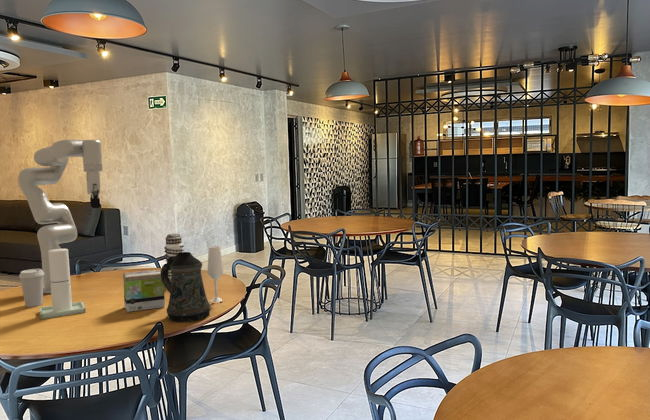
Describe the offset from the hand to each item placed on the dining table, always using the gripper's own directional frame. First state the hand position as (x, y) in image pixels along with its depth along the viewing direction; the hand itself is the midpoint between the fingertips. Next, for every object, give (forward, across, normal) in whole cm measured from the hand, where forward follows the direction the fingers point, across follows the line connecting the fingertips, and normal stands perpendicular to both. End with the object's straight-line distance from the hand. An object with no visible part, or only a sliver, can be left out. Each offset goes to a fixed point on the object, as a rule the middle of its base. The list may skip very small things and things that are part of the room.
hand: (95, 207), depth 221 cm
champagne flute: (+41, +34, +43) cm, 69 cm away
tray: (+41, +15, -16) cm, 47 cm away
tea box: (+41, +26, +15) cm, 51 cm away
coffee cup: (+42, -3, -26) cm, 49 cm away
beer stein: (+41, +48, +27) cm, 68 cm away
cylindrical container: (+41, +15, -15) cm, 46 cm away
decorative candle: (+41, -8, +35) cm, 54 cm away
